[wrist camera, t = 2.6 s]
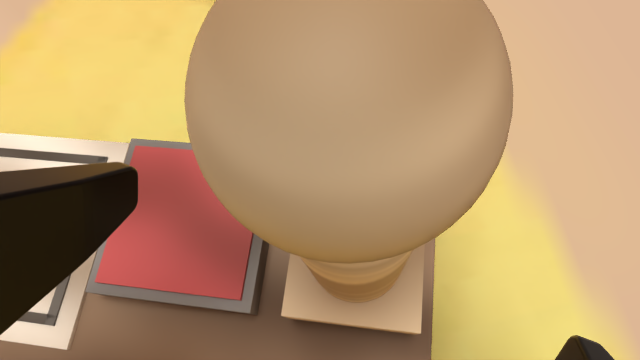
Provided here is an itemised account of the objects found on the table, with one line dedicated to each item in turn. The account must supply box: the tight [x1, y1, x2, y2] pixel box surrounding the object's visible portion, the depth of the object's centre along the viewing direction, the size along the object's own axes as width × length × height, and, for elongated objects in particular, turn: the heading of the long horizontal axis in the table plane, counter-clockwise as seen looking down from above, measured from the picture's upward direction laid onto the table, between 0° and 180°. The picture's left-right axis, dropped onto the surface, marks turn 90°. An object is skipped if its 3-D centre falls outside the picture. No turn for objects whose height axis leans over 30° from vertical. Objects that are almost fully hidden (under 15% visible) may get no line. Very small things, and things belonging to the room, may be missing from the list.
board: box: [0, 133, 435, 360], centre depth 18 cm, size 11×23×2 cm, turn 83°
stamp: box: [185, 0, 513, 335], centre depth 11 cm, size 5×5×14 cm
